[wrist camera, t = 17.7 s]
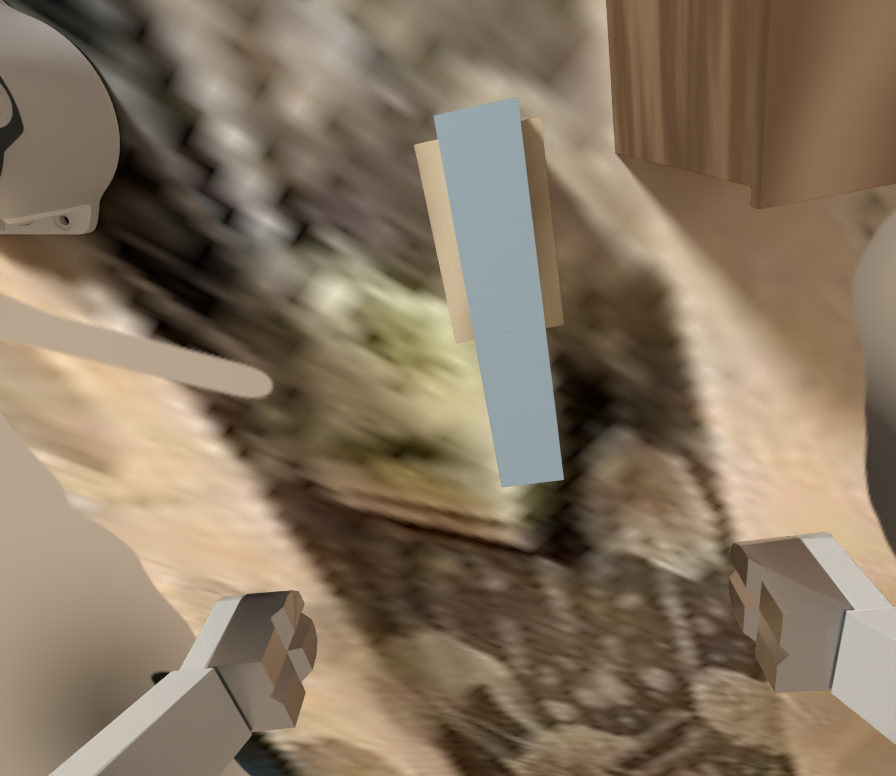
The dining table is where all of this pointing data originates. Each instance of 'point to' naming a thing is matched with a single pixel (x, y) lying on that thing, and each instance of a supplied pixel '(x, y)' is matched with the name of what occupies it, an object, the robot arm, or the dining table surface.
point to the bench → (446, 236)
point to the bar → (502, 285)
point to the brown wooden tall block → (758, 92)
